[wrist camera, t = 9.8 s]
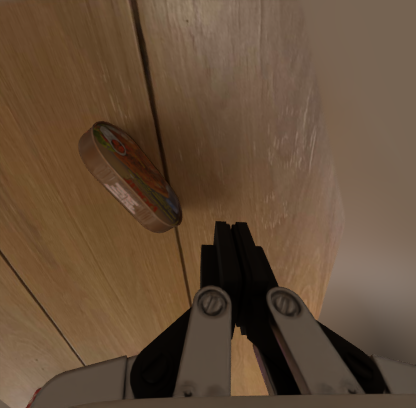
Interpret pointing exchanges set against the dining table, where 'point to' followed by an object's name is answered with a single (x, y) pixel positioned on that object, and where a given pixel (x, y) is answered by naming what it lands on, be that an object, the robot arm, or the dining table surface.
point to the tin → (130, 177)
